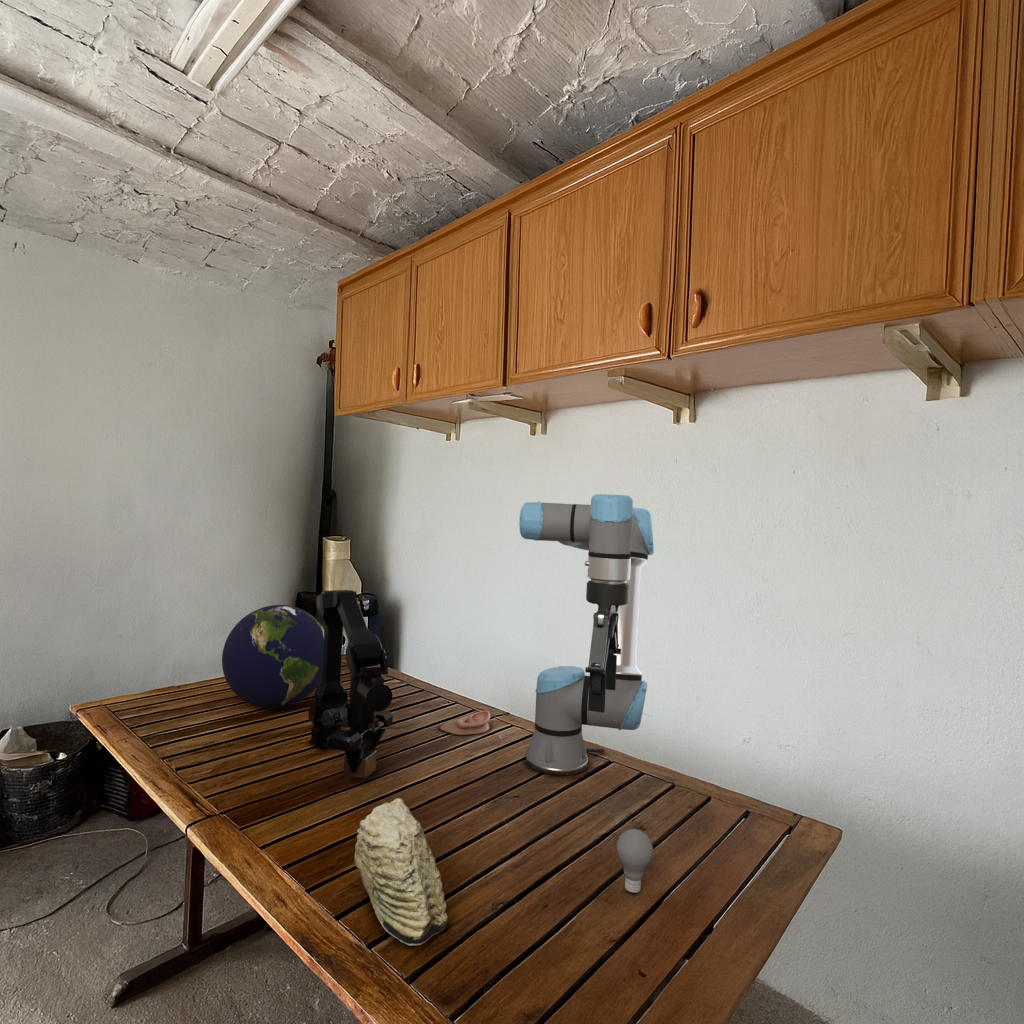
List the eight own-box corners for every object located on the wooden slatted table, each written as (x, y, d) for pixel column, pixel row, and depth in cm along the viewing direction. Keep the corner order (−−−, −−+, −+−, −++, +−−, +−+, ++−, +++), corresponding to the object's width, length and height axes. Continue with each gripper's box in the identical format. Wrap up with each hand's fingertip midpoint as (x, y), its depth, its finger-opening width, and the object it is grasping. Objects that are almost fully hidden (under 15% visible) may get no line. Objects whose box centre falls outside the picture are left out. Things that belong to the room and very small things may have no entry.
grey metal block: (355, 765, 143) (356, 746, 143) (375, 769, 141) (376, 750, 141) (343, 774, 138) (344, 755, 138) (364, 778, 137) (365, 759, 136)
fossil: (387, 871, 108) (391, 784, 108) (458, 926, 95) (462, 827, 95) (340, 893, 102) (344, 800, 101) (410, 955, 89) (414, 849, 88)
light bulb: (610, 879, 108) (613, 822, 108) (644, 879, 109) (647, 822, 109) (619, 902, 102) (622, 840, 102) (655, 901, 103) (658, 840, 103)
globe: (289, 685, 209) (292, 594, 208) (348, 705, 191) (352, 606, 191) (199, 706, 185) (203, 604, 184) (258, 732, 167) (262, 619, 167)
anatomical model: (436, 717, 173) (449, 704, 184) (436, 732, 173) (448, 718, 184) (483, 723, 170) (493, 709, 181) (483, 738, 170) (493, 723, 181)
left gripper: (352, 681, 151) (350, 746, 151) (306, 705, 133) (303, 778, 133) (395, 687, 147) (392, 753, 148) (353, 712, 129) (350, 787, 130)
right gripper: (598, 572, 126) (593, 678, 126) (573, 587, 102) (567, 718, 102) (636, 575, 124) (631, 683, 124) (620, 591, 100) (614, 725, 100)
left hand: (360, 767), depth 140 cm, fingers closed on grey metal block, 5 cm apart
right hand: (602, 699), depth 113 cm, fingers open, 13 cm apart
